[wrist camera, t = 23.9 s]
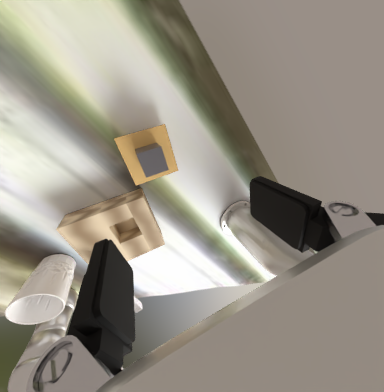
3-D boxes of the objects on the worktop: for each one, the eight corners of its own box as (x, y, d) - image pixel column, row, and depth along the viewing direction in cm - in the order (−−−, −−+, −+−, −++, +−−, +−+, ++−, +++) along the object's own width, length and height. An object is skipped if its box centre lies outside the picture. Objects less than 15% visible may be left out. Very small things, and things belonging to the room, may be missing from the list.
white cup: (64, 280, 37) (46, 327, 29) (26, 270, 33) (-8, 321, 25) (86, 259, 37) (74, 299, 29) (51, 246, 33) (25, 289, 24)
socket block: (141, 187, 34) (143, 197, 30) (161, 231, 42) (164, 244, 37) (65, 214, 31) (55, 229, 27) (100, 257, 38) (97, 274, 34)
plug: (160, 124, 30) (171, 124, 23) (173, 165, 35) (185, 178, 28) (115, 136, 29) (111, 142, 21) (135, 179, 33) (137, 196, 26)
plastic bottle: (51, 283, 36) (-14, 421, 20) (84, 284, 40) (52, 403, 23) (43, 302, 38) (-24, 446, 21) (75, 301, 41) (40, 425, 24)
